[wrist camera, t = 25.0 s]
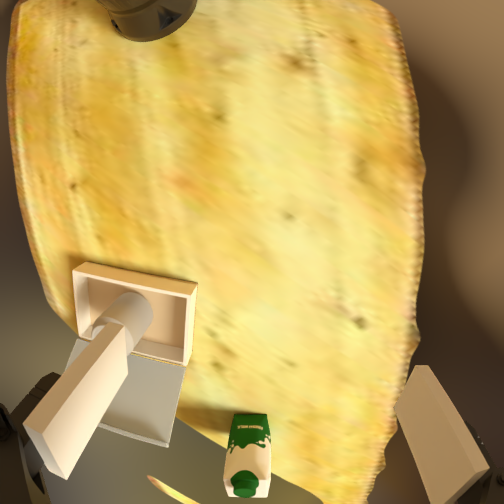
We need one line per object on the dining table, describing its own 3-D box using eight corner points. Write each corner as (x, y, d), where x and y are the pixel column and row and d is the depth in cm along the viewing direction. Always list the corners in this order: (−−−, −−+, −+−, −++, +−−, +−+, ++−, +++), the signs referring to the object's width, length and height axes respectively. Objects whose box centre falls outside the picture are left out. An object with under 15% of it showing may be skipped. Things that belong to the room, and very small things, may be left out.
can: (111, 297, 52) (78, 328, 40) (141, 284, 51) (111, 316, 39) (131, 331, 54) (104, 367, 42) (162, 320, 53) (138, 358, 41)
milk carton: (270, 411, 59) (269, 487, 40) (271, 436, 61) (270, 507, 42) (229, 411, 59) (217, 486, 40) (233, 436, 62) (224, 506, 43)
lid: (47, 404, 38) (53, 407, 40) (165, 446, 38) (168, 447, 40) (73, 333, 48) (78, 339, 50) (184, 363, 48) (185, 368, 50)
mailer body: (86, 261, 51) (72, 270, 46) (197, 283, 51) (191, 295, 46) (90, 325, 55) (79, 337, 50) (192, 350, 55) (186, 366, 50)
